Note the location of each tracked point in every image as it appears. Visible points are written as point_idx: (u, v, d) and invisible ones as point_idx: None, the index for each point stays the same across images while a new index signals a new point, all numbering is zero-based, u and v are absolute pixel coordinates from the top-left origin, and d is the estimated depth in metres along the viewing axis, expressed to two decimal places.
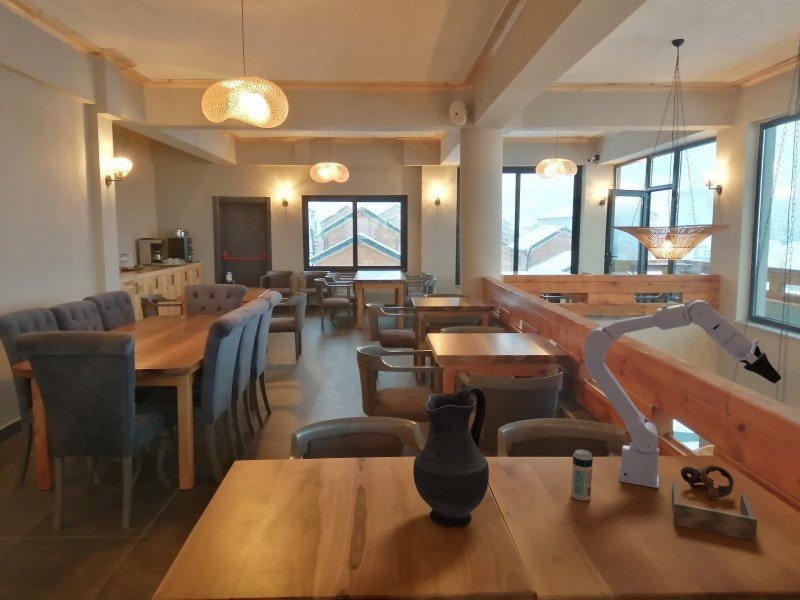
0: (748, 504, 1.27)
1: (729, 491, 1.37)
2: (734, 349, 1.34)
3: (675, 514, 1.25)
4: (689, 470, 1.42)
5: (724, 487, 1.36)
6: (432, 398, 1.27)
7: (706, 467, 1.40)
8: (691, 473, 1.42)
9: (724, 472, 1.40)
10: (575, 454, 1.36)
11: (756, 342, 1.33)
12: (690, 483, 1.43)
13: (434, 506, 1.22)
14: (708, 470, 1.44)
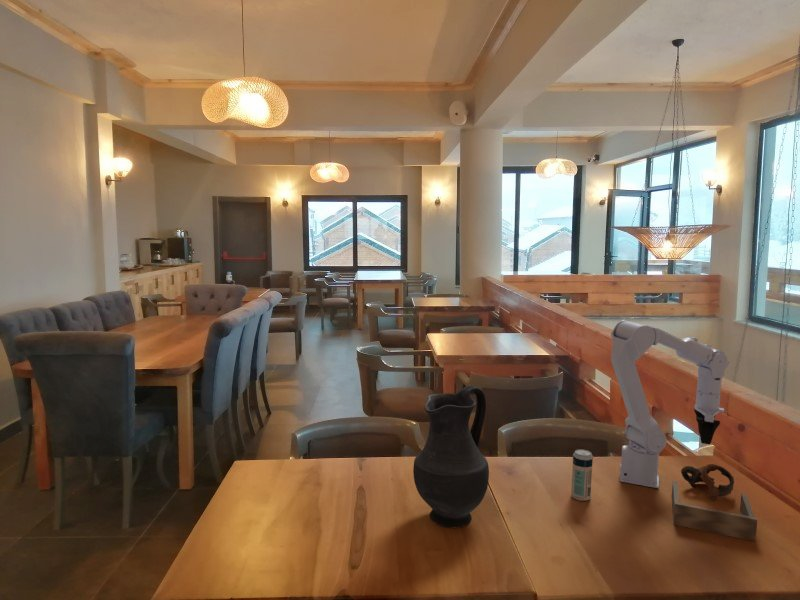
0: (748, 504, 1.27)
1: (729, 490, 1.37)
2: (703, 402, 1.48)
3: (675, 514, 1.25)
4: (690, 469, 1.42)
5: (725, 486, 1.36)
6: (432, 398, 1.27)
7: (707, 466, 1.41)
8: (692, 472, 1.42)
9: (724, 471, 1.41)
10: (575, 454, 1.36)
11: (721, 411, 1.47)
12: (691, 482, 1.43)
13: (434, 506, 1.22)
14: (708, 469, 1.44)
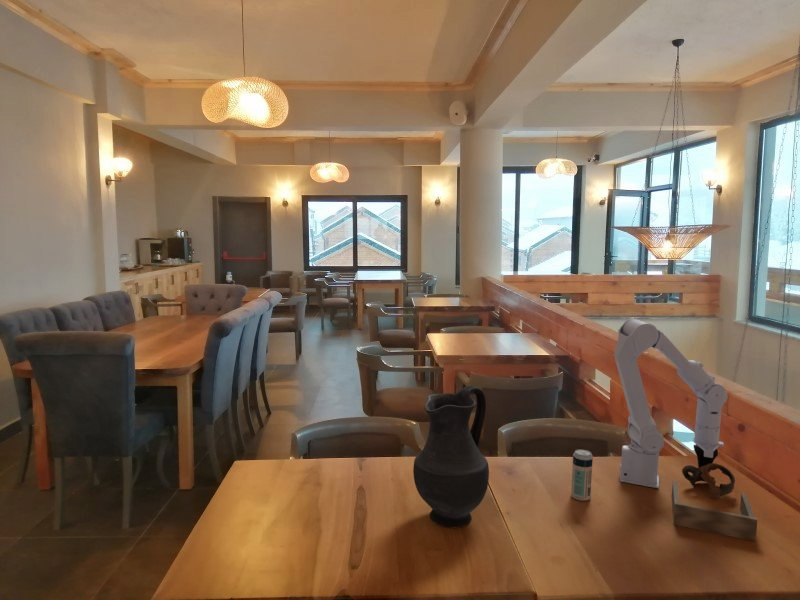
0: (748, 504, 1.27)
1: (730, 489, 1.38)
2: (702, 436, 1.44)
3: (675, 514, 1.25)
4: (691, 469, 1.43)
5: (726, 485, 1.37)
6: (432, 398, 1.27)
7: (707, 465, 1.41)
8: (693, 472, 1.42)
9: (725, 470, 1.41)
10: (575, 454, 1.36)
11: (720, 445, 1.44)
12: (692, 482, 1.43)
13: (434, 506, 1.22)
14: (709, 468, 1.45)
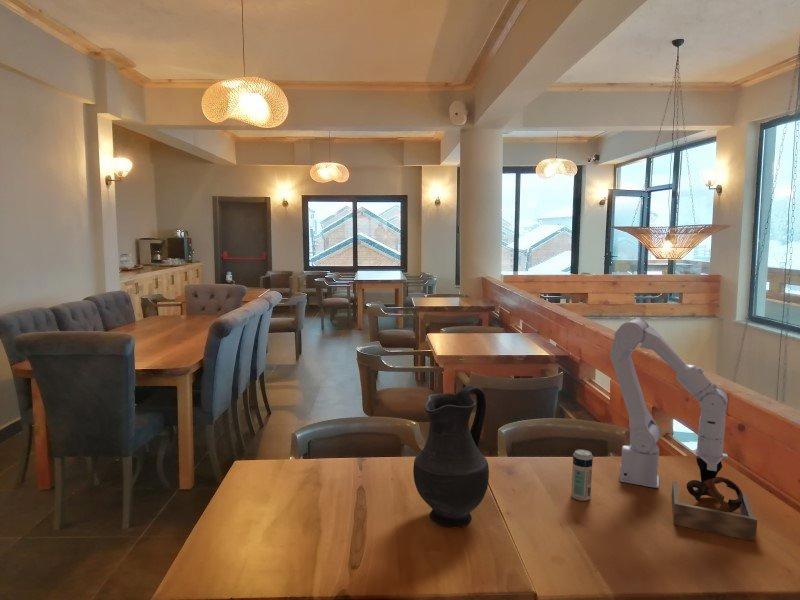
0: (748, 504, 1.27)
1: (739, 504, 1.30)
2: (705, 447, 1.36)
3: (675, 514, 1.25)
4: (696, 484, 1.34)
5: (735, 501, 1.29)
6: (432, 398, 1.27)
7: (714, 480, 1.33)
8: (698, 487, 1.34)
9: (731, 484, 1.33)
10: (575, 454, 1.36)
11: (725, 457, 1.36)
12: (697, 497, 1.35)
13: (434, 506, 1.22)
14: None
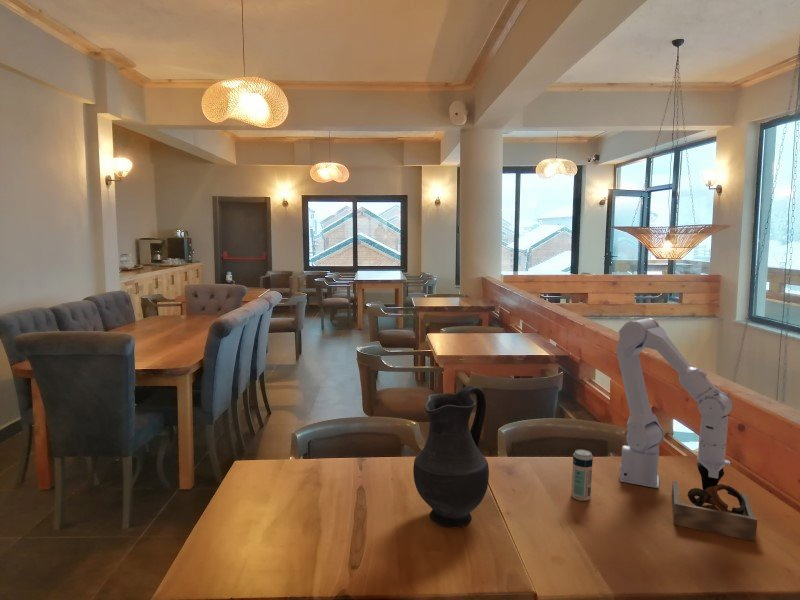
0: (748, 504, 1.27)
1: (742, 512, 1.26)
2: (706, 454, 1.32)
3: (675, 514, 1.25)
4: (698, 492, 1.30)
5: (738, 509, 1.25)
6: (432, 398, 1.27)
7: (716, 487, 1.29)
8: (700, 495, 1.29)
9: (733, 491, 1.29)
10: (575, 454, 1.36)
11: (727, 464, 1.32)
12: (699, 506, 1.30)
13: (434, 506, 1.22)
14: None
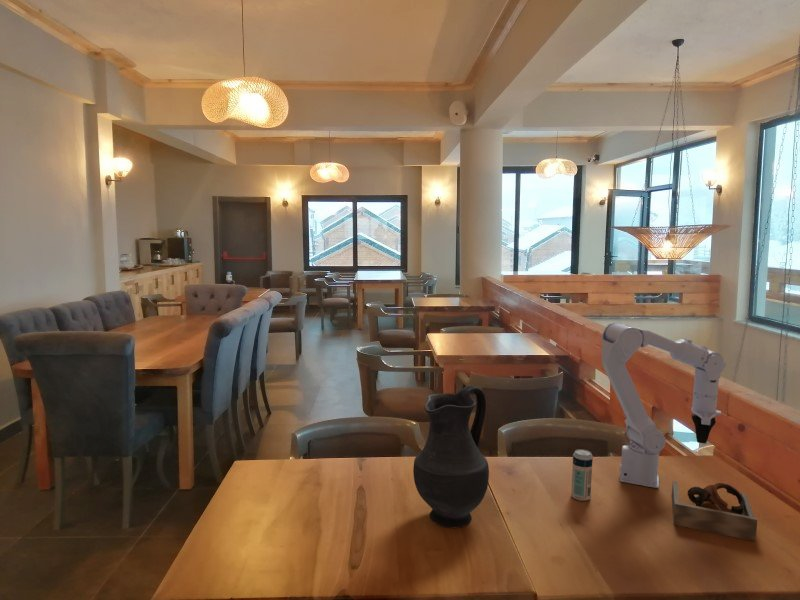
0: (748, 504, 1.27)
1: (741, 511, 1.27)
2: (699, 404, 1.45)
3: (675, 514, 1.25)
4: (698, 491, 1.30)
5: (738, 507, 1.26)
6: (432, 398, 1.27)
7: (715, 486, 1.30)
8: (700, 494, 1.30)
9: (732, 490, 1.30)
10: (575, 454, 1.36)
11: (718, 413, 1.45)
12: (698, 504, 1.31)
13: (434, 506, 1.22)
14: None
